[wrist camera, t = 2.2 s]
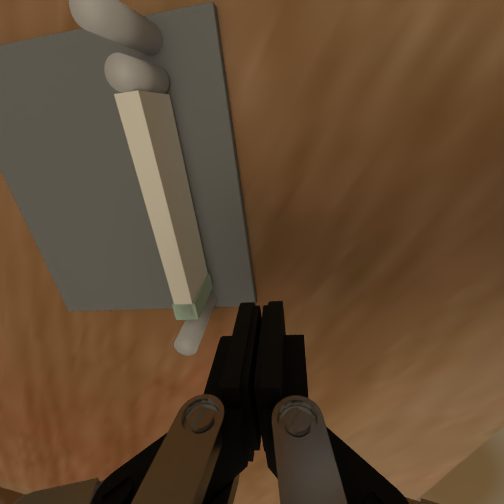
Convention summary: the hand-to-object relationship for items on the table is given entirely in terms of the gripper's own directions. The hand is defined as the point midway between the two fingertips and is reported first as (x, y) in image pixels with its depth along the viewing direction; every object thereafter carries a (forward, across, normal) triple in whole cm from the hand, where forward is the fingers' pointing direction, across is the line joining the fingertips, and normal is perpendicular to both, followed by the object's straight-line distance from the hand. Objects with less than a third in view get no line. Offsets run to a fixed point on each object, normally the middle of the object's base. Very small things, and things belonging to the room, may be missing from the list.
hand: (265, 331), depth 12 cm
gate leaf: (+15, +8, -2) cm, 17 cm away
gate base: (+16, +14, -3) cm, 22 cm away
